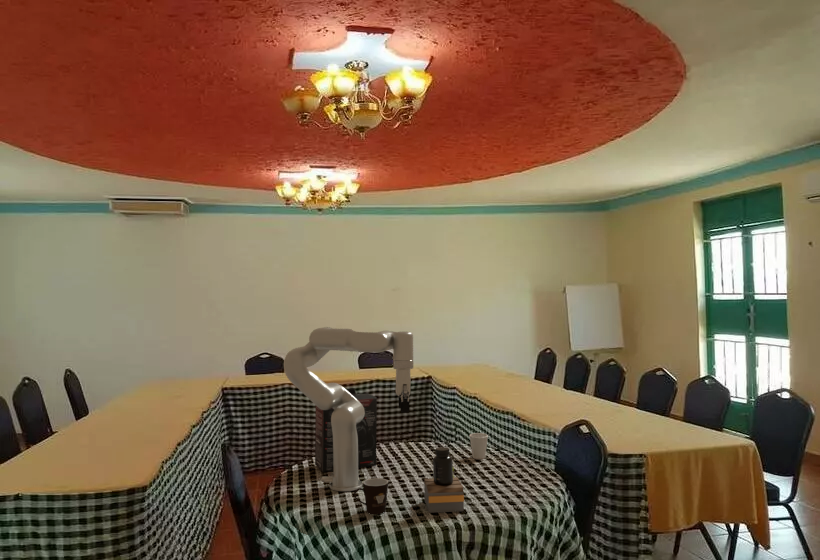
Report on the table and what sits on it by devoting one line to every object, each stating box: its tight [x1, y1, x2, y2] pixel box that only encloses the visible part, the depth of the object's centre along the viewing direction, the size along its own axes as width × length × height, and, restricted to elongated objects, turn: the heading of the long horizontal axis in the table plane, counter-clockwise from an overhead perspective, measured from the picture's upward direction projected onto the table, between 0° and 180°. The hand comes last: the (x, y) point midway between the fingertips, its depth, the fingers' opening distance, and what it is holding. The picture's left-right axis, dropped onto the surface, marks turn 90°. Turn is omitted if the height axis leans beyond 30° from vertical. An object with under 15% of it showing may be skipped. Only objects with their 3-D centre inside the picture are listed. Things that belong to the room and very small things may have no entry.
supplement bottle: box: [432, 446, 454, 486], centre depth 222 cm, size 7×7×12 cm
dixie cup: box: [469, 432, 489, 460], centre depth 284 cm, size 8×8×10 cm
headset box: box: [314, 387, 378, 473], centre depth 274 cm, size 24×13×33 cm, turn 115°
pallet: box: [423, 476, 464, 493], centre depth 222 cm, size 12×12×2 cm
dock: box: [423, 483, 465, 514], centre depth 222 cm, size 12×13×6 cm
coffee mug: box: [353, 477, 389, 515], centre depth 218 cm, size 12×9×10 cm
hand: (403, 410), depth 239 cm, fingers open, 9 cm apart
